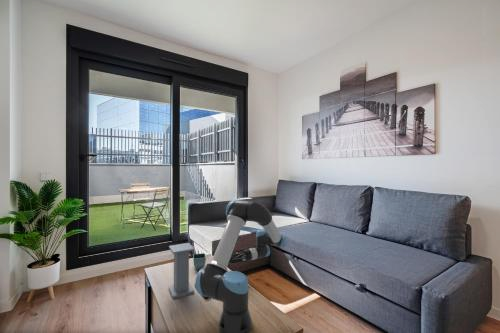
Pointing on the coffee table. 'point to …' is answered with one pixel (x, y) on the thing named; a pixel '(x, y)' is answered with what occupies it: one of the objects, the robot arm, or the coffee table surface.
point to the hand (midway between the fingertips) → (218, 261)
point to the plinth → (181, 270)
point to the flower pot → (199, 261)
